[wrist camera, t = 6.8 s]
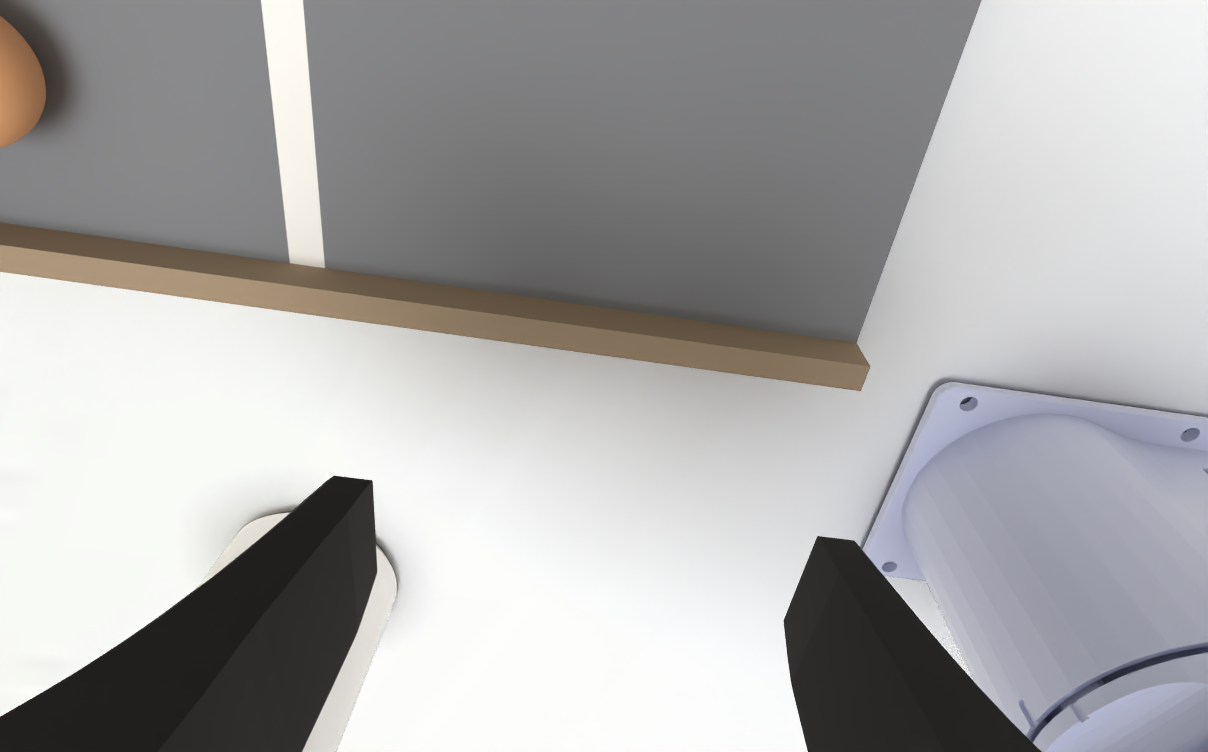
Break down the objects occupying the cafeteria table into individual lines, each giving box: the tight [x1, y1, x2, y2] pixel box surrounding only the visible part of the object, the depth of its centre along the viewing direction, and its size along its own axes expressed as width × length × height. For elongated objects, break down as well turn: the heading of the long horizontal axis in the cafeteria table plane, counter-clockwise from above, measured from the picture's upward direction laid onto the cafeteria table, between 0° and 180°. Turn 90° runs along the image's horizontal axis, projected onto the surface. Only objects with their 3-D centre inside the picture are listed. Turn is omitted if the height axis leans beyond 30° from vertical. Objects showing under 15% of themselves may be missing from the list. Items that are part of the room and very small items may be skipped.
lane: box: [0, 0, 981, 391], centre depth 16 cm, size 27×12×2 cm, turn 82°
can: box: [196, 512, 397, 752], centre depth 21 cm, size 6×6×12 cm
